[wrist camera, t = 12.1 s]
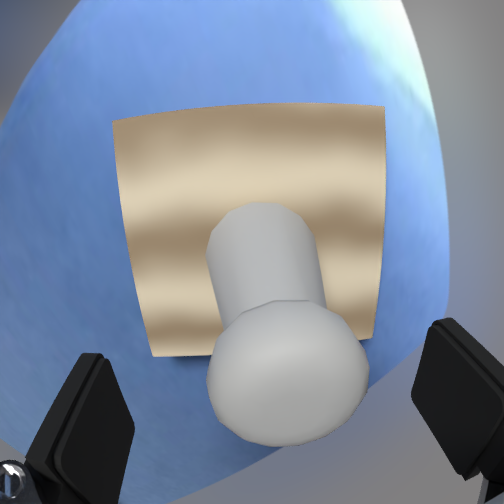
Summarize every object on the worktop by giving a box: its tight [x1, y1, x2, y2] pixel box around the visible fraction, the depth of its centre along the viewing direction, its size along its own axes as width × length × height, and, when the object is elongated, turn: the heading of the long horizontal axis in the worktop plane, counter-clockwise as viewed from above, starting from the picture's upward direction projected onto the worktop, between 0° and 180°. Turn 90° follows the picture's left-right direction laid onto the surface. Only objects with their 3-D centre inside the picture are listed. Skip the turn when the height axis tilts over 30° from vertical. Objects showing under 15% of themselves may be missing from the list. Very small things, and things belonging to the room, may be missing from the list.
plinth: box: [112, 103, 386, 356], centre depth 21 cm, size 16×16×3 cm
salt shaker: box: [205, 202, 369, 447], centre depth 13 cm, size 6×6×13 cm
